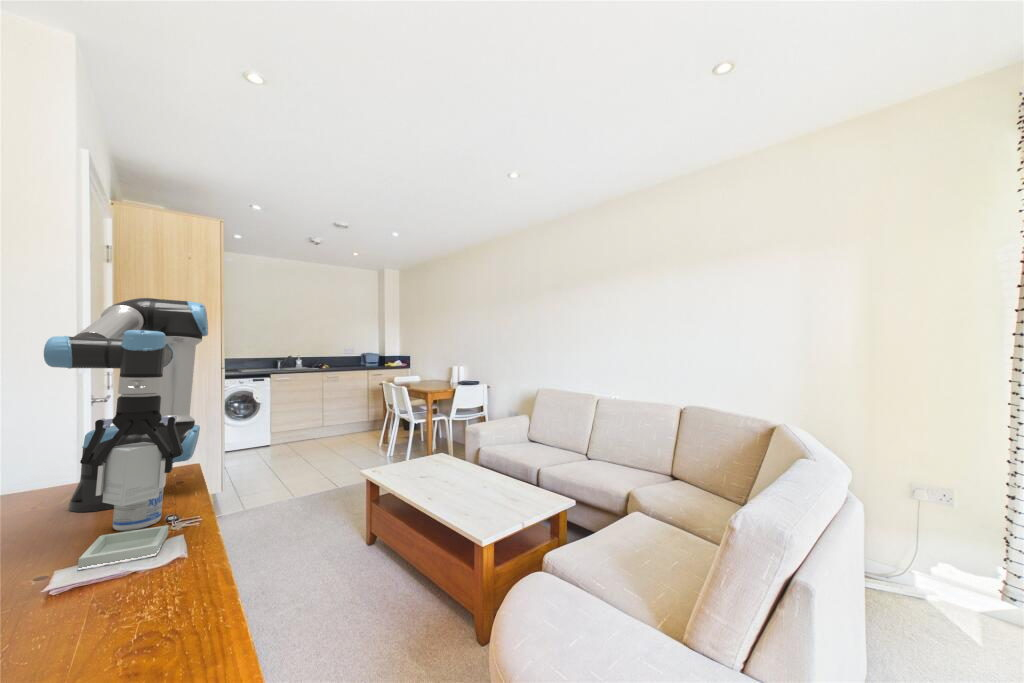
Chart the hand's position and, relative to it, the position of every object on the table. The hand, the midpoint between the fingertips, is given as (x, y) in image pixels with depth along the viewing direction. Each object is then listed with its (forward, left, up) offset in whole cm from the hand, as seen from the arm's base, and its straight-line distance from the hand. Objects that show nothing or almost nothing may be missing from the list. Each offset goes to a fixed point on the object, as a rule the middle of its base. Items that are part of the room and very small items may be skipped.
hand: (132, 490), depth 90 cm
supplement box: (0, 0, -2) cm, 2 cm away
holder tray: (0, 0, -14) cm, 14 cm away
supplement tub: (-18, -2, -14) cm, 23 cm away
